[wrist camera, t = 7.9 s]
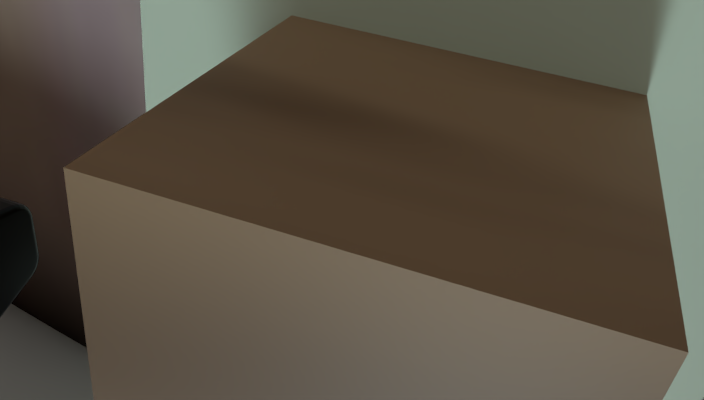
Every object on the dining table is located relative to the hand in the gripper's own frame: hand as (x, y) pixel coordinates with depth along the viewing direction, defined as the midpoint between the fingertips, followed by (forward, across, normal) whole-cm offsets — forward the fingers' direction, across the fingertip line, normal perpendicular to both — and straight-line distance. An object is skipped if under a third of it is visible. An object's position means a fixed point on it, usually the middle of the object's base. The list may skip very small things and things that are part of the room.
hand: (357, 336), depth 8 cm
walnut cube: (+3, 0, 0) cm, 3 cm away
